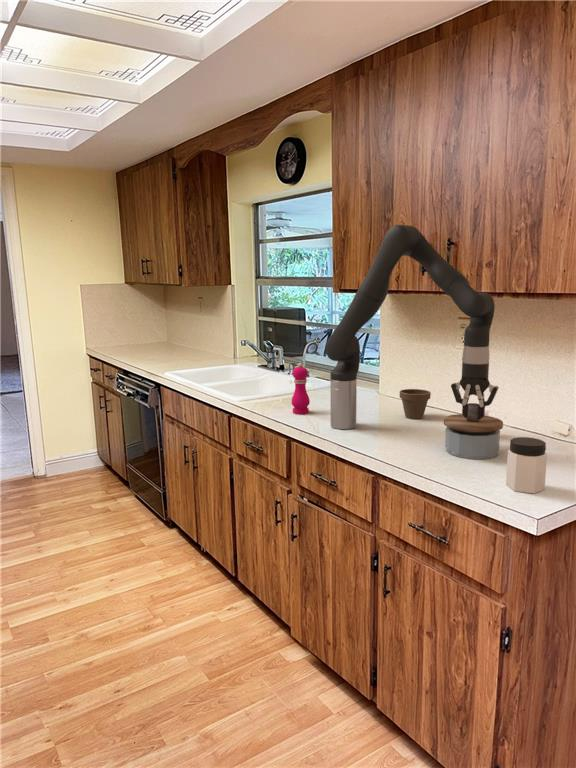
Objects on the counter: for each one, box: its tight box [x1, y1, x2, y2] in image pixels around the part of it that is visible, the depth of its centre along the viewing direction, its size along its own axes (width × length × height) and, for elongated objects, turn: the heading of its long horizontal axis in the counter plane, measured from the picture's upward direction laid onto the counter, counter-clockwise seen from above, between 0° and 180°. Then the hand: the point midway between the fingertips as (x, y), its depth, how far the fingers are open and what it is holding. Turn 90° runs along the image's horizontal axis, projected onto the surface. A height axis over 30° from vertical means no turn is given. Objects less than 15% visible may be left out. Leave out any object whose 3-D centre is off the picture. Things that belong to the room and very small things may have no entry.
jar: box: [505, 436, 548, 494], centre depth 141 cm, size 9×8×12 cm
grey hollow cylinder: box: [444, 426, 501, 460], centre depth 171 cm, size 15×15×7 cm
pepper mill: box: [291, 362, 311, 415], centre depth 223 cm, size 7×7×20 cm
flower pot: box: [399, 388, 432, 420], centre depth 214 cm, size 12×11×10 cm
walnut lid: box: [443, 402, 504, 432], centre depth 170 cm, size 17×17×6 cm
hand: (473, 417), depth 170 cm, fingers closed on walnut lid, 3 cm apart
